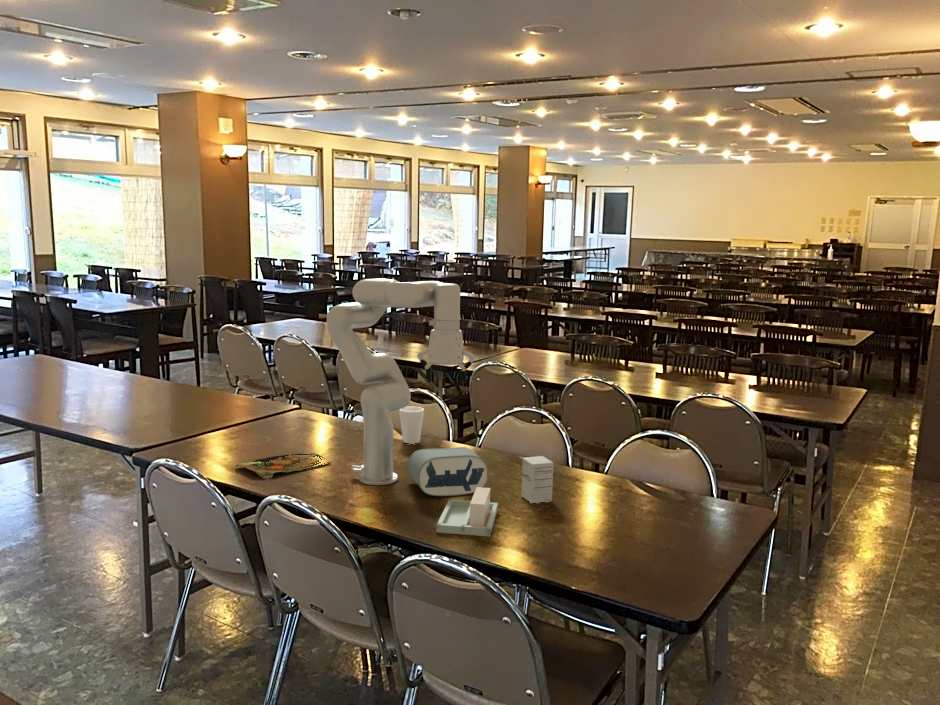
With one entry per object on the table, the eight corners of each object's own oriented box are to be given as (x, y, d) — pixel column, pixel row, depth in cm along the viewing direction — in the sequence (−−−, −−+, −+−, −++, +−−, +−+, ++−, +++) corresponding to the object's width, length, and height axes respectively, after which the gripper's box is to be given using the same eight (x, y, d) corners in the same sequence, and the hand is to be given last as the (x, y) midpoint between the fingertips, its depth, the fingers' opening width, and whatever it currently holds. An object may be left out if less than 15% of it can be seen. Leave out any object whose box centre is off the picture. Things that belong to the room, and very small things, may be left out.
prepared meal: (304, 444, 287) (333, 454, 274) (305, 453, 288) (334, 464, 275) (233, 462, 268) (261, 473, 255) (234, 472, 268) (262, 484, 256)
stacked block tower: (520, 496, 247) (521, 457, 245) (542, 494, 249) (543, 455, 247) (530, 504, 240) (532, 464, 238) (552, 502, 243) (554, 462, 241)
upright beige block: (469, 527, 218) (470, 503, 217) (476, 510, 232) (476, 487, 231) (483, 529, 218) (484, 504, 217) (489, 511, 232) (490, 488, 231)
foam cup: (428, 441, 306) (428, 408, 304) (414, 447, 298) (414, 413, 296) (408, 437, 311) (408, 405, 309) (393, 442, 303) (394, 409, 301)
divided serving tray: (436, 532, 217) (436, 524, 216) (448, 506, 237) (449, 499, 236) (489, 536, 215) (490, 528, 214) (497, 510, 235) (498, 502, 234)
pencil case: (418, 499, 241) (418, 458, 240) (406, 482, 260) (406, 444, 258) (488, 494, 247) (488, 454, 246) (471, 478, 265) (472, 440, 264)
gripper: (415, 325, 232) (414, 383, 234) (474, 328, 229) (472, 386, 232) (420, 322, 239) (419, 378, 242) (477, 325, 237) (476, 381, 239)
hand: (445, 382), depth 237 cm, fingers open, 9 cm apart
